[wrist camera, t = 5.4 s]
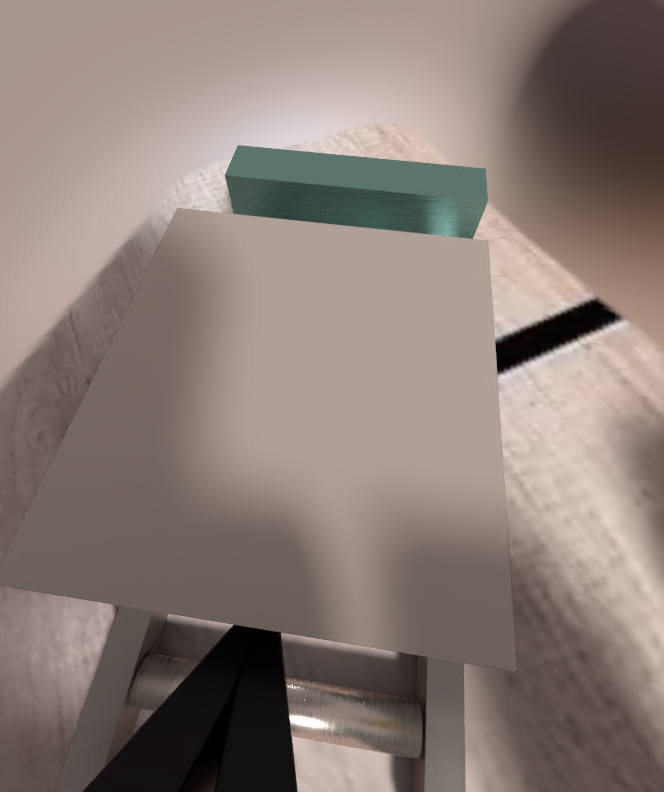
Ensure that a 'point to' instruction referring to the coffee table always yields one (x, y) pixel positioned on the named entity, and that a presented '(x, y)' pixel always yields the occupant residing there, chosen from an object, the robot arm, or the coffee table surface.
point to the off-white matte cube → (292, 444)
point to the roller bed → (308, 701)
